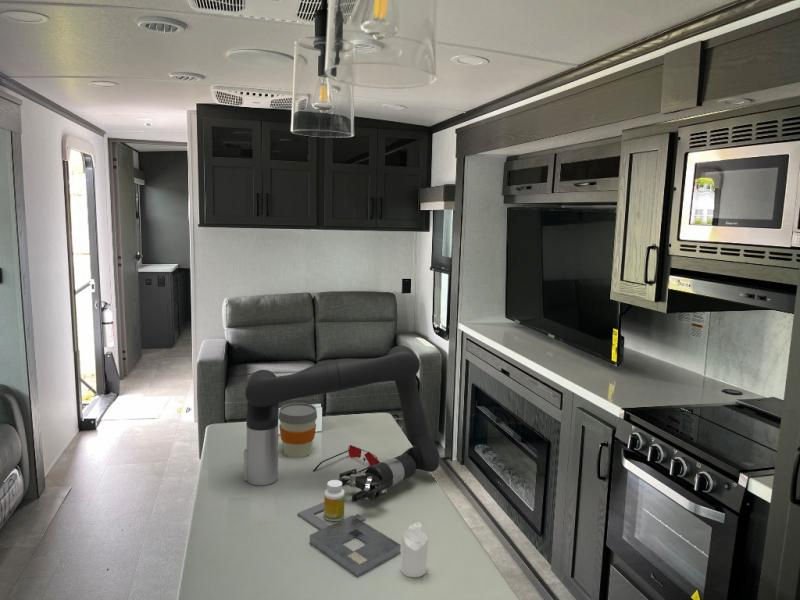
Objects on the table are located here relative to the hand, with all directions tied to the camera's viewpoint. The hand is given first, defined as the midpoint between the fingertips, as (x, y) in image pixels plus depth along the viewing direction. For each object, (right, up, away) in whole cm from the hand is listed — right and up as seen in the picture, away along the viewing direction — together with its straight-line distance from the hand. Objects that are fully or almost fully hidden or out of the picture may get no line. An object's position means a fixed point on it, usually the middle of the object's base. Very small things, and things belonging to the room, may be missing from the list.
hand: (342, 492), depth 164 cm
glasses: (-1, -2, +26) cm, 27 cm away
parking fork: (-2, -6, -1) cm, 7 cm away
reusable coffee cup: (-19, +1, +38) cm, 42 cm away
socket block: (+4, -9, -15) cm, 18 cm away
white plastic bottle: (+19, -11, -23) cm, 31 cm away
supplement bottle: (-2, -6, -1) cm, 7 cm away
